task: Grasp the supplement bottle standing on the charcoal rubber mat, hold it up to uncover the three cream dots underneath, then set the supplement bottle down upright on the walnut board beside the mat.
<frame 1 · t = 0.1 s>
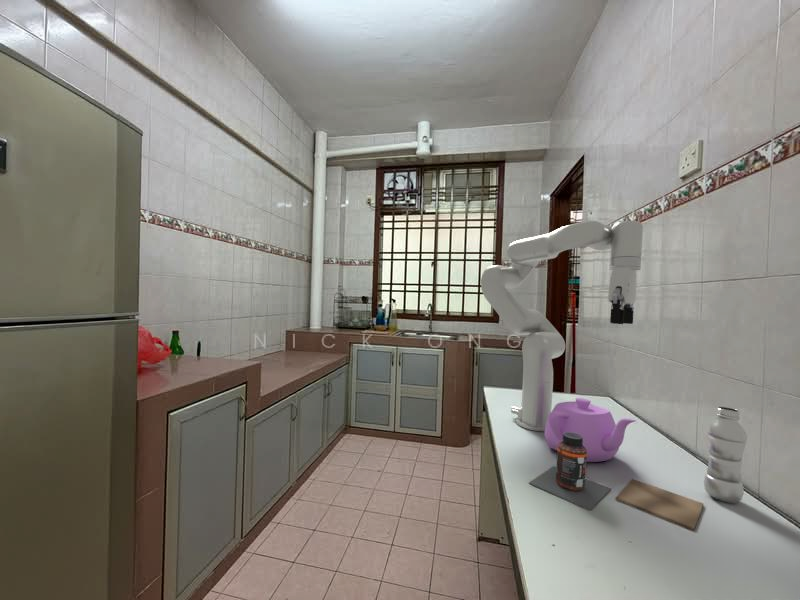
hand: (621, 323, 103), 37 cm above the table, tool pointing down, fingers open, 9 cm apart
walnut board: (659, 502, 76), on the table
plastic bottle: (722, 499, 79), on the table
dot mat: (569, 486, 80), on the table
teapot: (582, 454, 99), on the table
supplement bottle: (569, 486, 80), resting on dot mat
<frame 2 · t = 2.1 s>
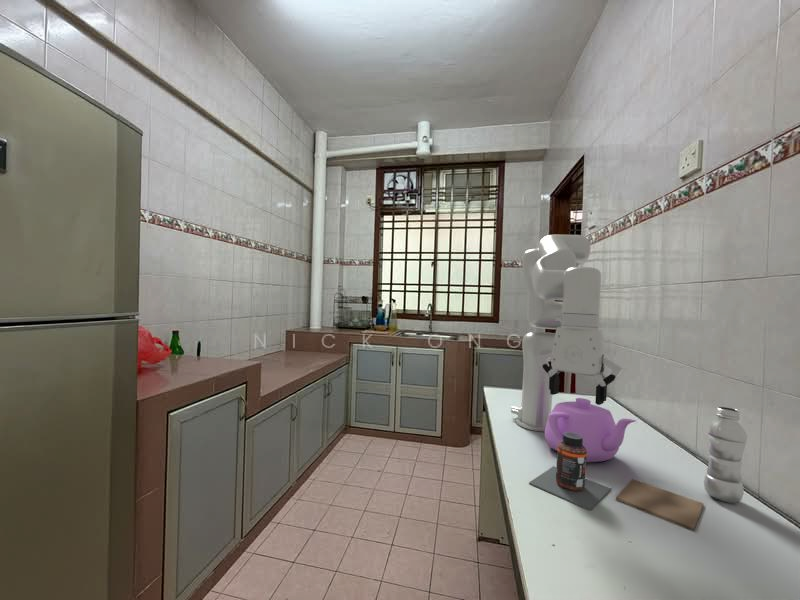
hand: (576, 398, 80), 20 cm above the table, tool pointing down, fingers open, 9 cm apart
nothing on the table moved.
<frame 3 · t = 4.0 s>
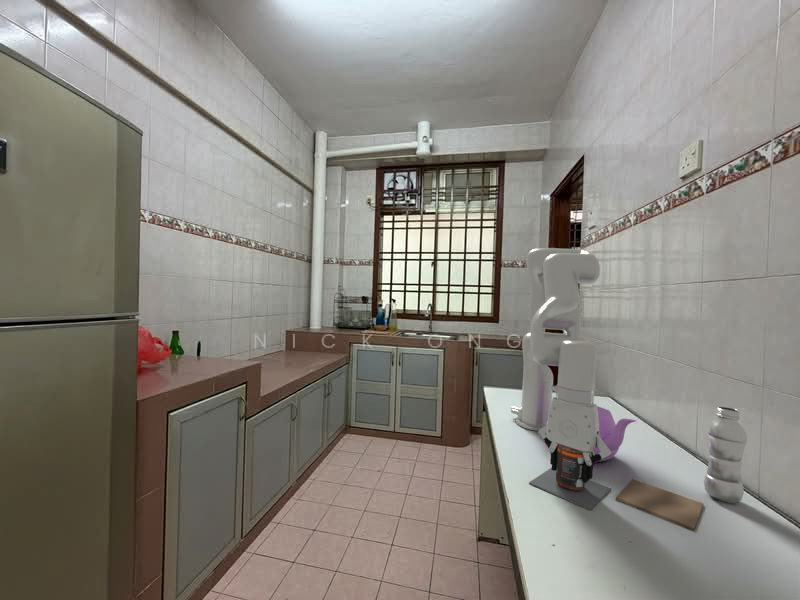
hand: (570, 473, 80), 3 cm above the table, tool pointing down, fingers closed on supplement bottle, 6 cm apart
supplement bottle: (569, 486, 80), resting on dot mat, touching gripper
everything else where it was.
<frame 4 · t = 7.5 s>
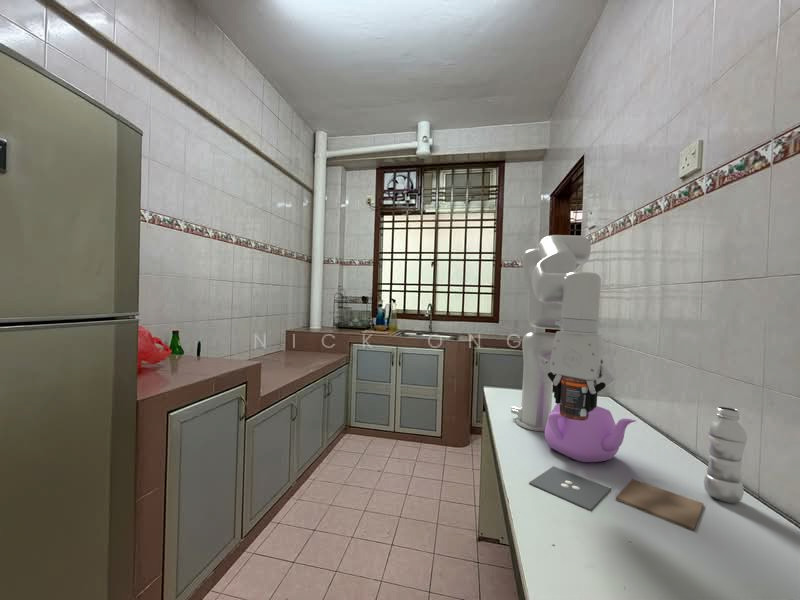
hand: (574, 405, 80), 18 cm above the table, tool pointing down, fingers closed on supplement bottle, 6 cm apart
supplement bottle: (573, 417, 80), point 16 cm above the table, touching gripper
everything else where it was.
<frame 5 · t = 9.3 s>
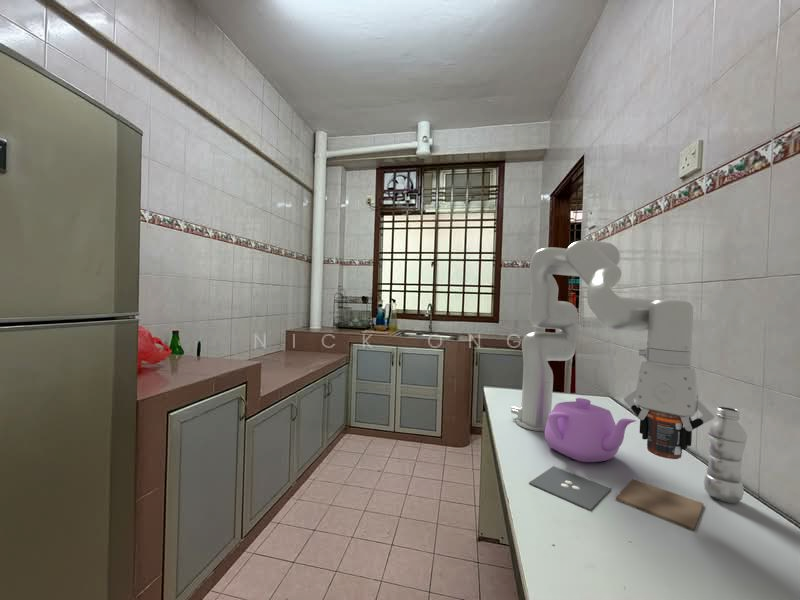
hand: (664, 442, 75), 13 cm above the table, tool pointing down, fingers closed on supplement bottle, 6 cm apart
supplement bottle: (663, 455, 75), point 10 cm above the table, touching gripper
everything else where it was.
when the fingers open (4 cm above the table, at t = 11.0 s): supplement bottle drops 1 cm, resting on walnut board.
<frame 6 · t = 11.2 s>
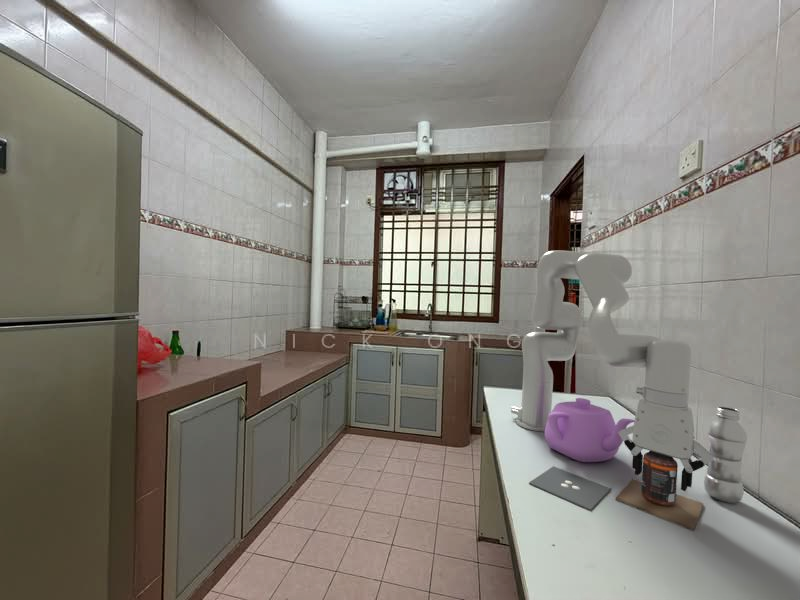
hand: (660, 480, 76), 5 cm above the table, tool pointing down, fingers open, 7 cm apart
supplement bottle: (657, 500, 76), resting on walnut board
everything else where it was.
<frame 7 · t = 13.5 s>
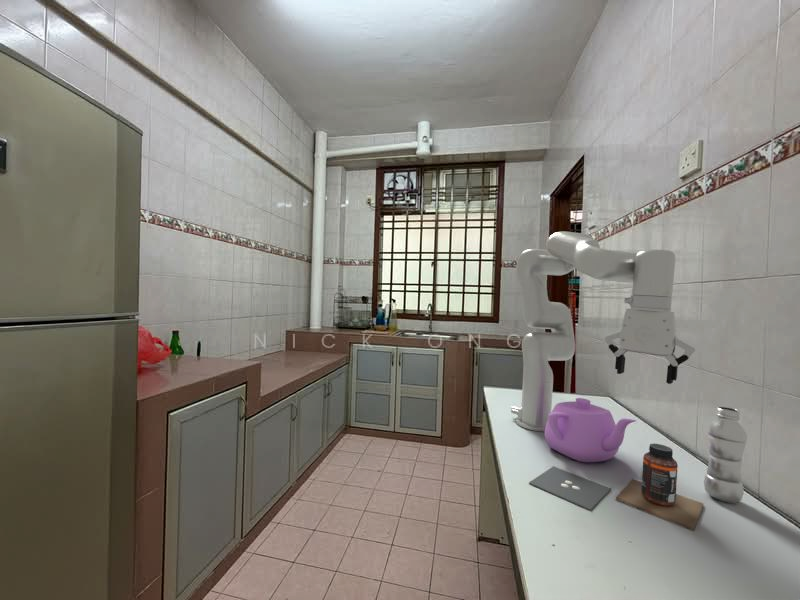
hand: (644, 377, 82), 25 cm above the table, tool pointing down, fingers open, 9 cm apart
nothing on the table moved.
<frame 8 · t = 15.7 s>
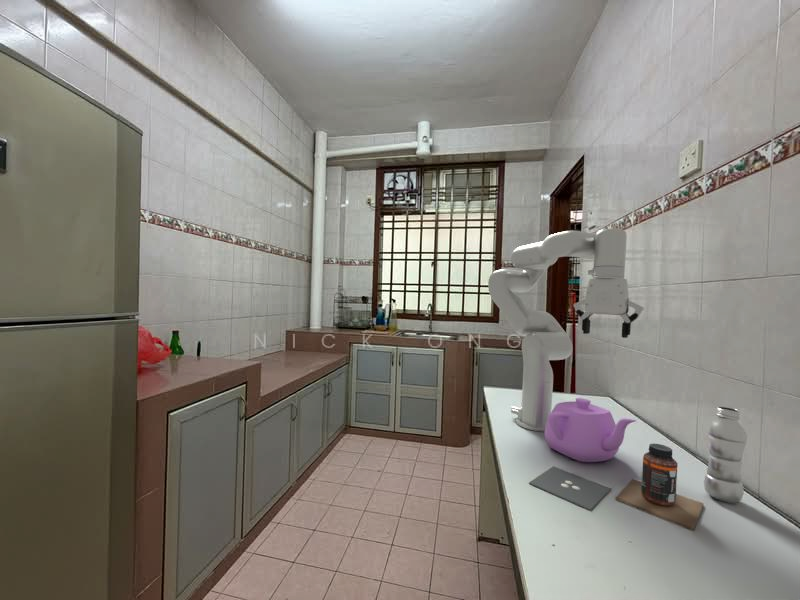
hand: (604, 335, 99), 33 cm above the table, tool pointing down, fingers open, 9 cm apart
nothing on the table moved.
at the end: supplement bottle inside the target area on the walnut board (0.3 cm from its centre), point 0.3 cm above the walnut board's base; supplement bottle tilted 0°; the gripper is holding nothing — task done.
